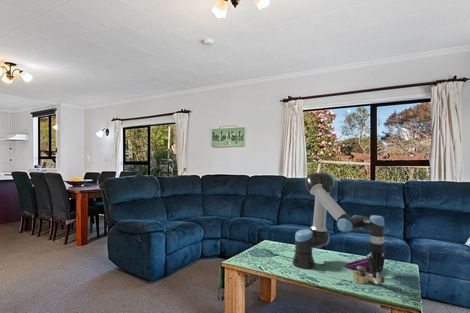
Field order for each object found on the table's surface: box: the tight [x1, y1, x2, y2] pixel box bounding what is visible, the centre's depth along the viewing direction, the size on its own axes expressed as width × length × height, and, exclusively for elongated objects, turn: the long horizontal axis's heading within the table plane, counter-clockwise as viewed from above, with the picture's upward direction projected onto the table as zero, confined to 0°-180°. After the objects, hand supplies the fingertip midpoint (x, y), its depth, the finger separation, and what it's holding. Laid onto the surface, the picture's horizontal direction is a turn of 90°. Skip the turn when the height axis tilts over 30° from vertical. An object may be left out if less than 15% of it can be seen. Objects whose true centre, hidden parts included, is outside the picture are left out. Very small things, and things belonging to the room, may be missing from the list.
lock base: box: [356, 266, 385, 285], centre depth 169 cm, size 28×14×9 cm, turn 76°
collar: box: [353, 270, 385, 285], centre depth 167 cm, size 16×8×5 cm, turn 61°
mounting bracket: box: [345, 257, 373, 275], centre depth 186 cm, size 9×8×18 cm
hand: (375, 283), depth 163 cm, fingers closed
